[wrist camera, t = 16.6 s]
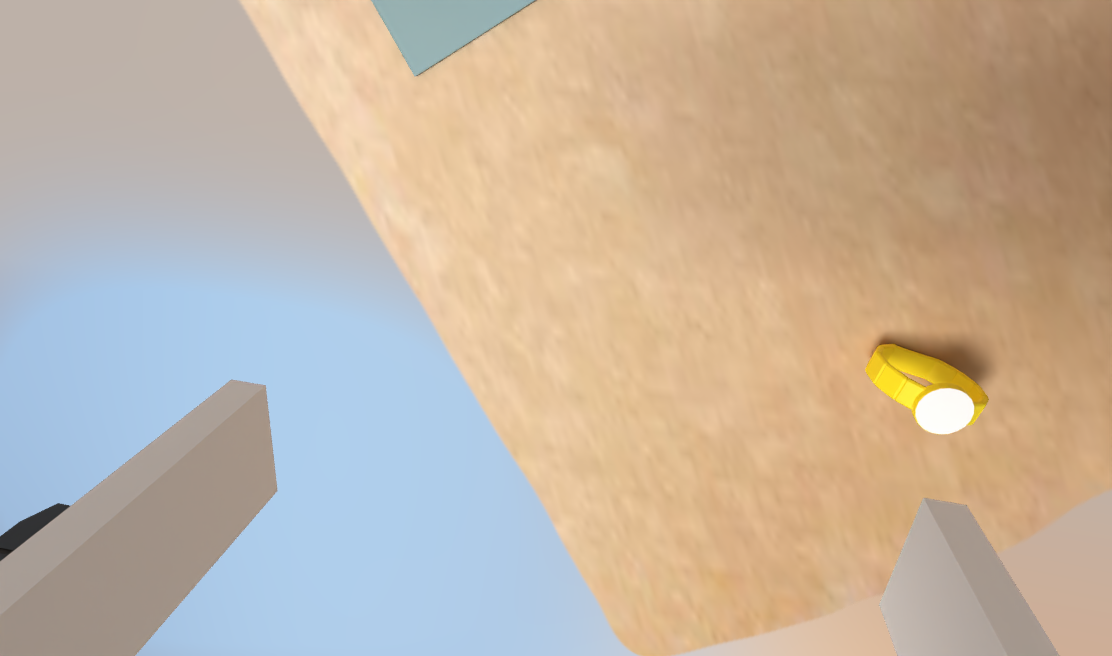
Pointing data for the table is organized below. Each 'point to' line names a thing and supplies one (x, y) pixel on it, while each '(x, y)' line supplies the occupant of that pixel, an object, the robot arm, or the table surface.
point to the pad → (440, 25)
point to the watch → (927, 388)
